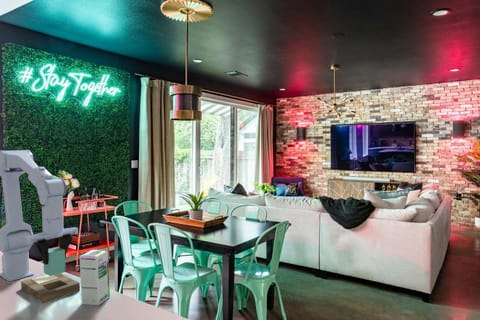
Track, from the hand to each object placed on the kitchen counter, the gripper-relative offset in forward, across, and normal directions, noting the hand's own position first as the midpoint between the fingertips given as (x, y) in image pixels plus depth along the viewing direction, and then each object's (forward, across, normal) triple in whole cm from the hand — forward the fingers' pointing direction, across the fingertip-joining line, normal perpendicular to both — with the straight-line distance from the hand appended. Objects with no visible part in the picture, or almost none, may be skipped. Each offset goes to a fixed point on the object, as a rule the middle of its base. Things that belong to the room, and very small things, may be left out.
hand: (54, 261), depth 110 cm
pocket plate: (+10, 0, +4) cm, 11 cm away
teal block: (+3, 0, 0) cm, 3 cm away
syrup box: (+10, +5, -15) cm, 19 cm away
